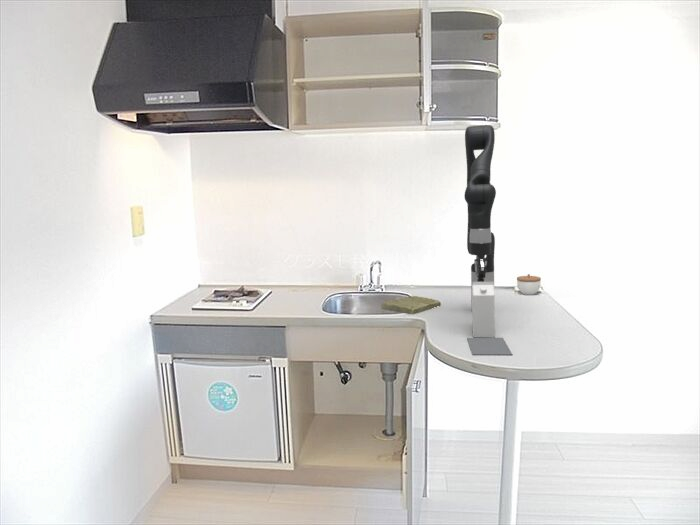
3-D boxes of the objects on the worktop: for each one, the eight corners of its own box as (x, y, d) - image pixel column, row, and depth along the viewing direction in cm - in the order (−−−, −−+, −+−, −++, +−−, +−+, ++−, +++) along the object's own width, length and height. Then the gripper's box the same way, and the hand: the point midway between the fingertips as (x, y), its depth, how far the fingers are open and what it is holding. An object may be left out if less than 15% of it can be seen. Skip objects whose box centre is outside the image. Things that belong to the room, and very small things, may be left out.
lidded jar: (519, 296, 241) (519, 276, 240) (515, 291, 252) (515, 272, 250) (543, 295, 240) (543, 275, 238) (537, 291, 250) (537, 272, 249)
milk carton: (472, 332, 185) (471, 280, 182) (492, 332, 183) (492, 279, 181) (473, 337, 178) (473, 283, 175) (494, 337, 176) (494, 283, 174)
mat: (467, 338, 177) (466, 337, 177) (502, 338, 175) (502, 337, 175) (472, 355, 159) (472, 354, 159) (512, 355, 158) (512, 354, 158)
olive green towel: (441, 307, 228) (441, 299, 227) (412, 315, 214) (412, 307, 213) (408, 301, 241) (408, 294, 240) (379, 309, 227) (379, 301, 227)
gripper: (467, 239, 189) (468, 285, 192) (471, 243, 176) (471, 292, 179) (488, 239, 188) (488, 285, 191) (493, 242, 175) (494, 292, 178)
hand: (480, 289), depth 185 cm, fingers closed
